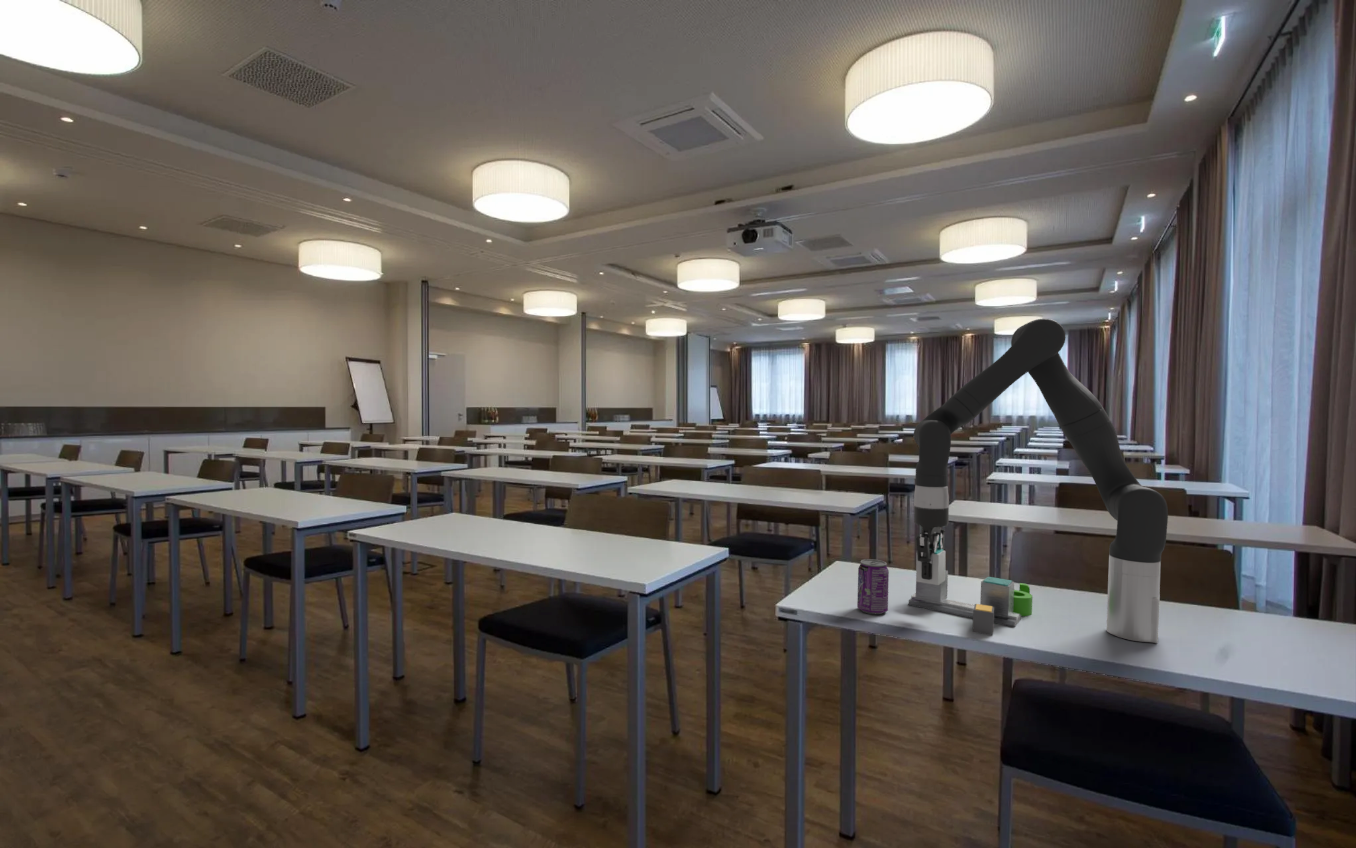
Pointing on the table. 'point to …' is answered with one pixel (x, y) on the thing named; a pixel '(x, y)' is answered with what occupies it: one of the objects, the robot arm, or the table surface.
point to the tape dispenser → (1023, 600)
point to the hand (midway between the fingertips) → (930, 575)
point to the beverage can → (873, 586)
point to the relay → (983, 619)
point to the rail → (992, 594)
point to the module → (933, 568)
